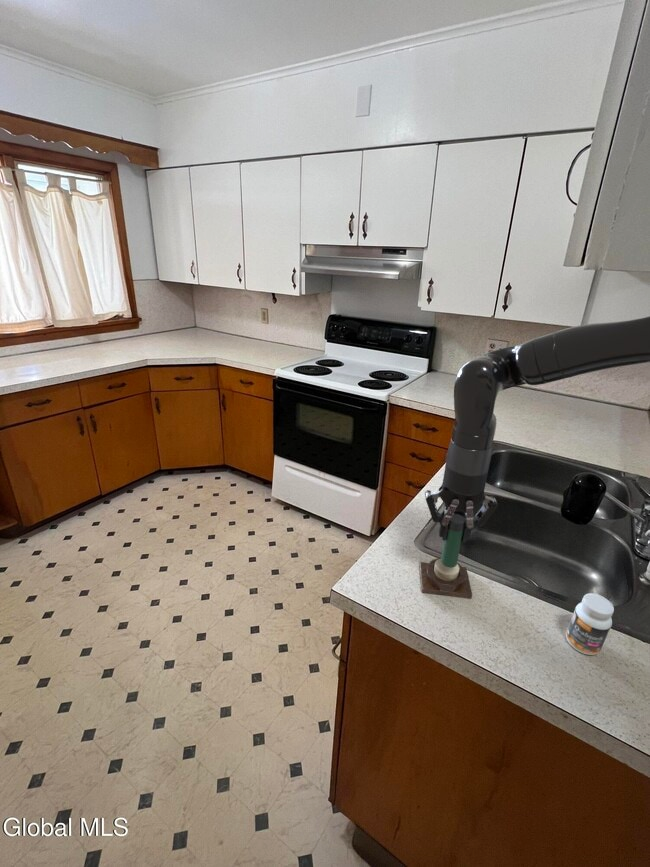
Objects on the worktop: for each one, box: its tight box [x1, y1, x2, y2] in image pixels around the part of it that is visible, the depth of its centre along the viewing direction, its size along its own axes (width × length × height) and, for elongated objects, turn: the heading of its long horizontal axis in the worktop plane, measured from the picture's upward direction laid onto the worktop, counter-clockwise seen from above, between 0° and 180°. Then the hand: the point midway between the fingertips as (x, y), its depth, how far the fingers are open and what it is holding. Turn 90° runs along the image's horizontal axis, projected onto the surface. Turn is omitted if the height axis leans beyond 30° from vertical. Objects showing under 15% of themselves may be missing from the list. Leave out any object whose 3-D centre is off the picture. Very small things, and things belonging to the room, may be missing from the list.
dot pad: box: [434, 559, 459, 581], centre depth 89 cm, size 5×5×2 cm
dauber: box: [440, 513, 465, 568], centre depth 85 cm, size 3×3×11 cm
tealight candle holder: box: [419, 557, 473, 600], centre depth 90 cm, size 10×8×3 cm
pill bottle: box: [565, 592, 615, 656], centre depth 76 cm, size 6×6×10 cm
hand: (453, 538), depth 85 cm, fingers closed on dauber, 3 cm apart
